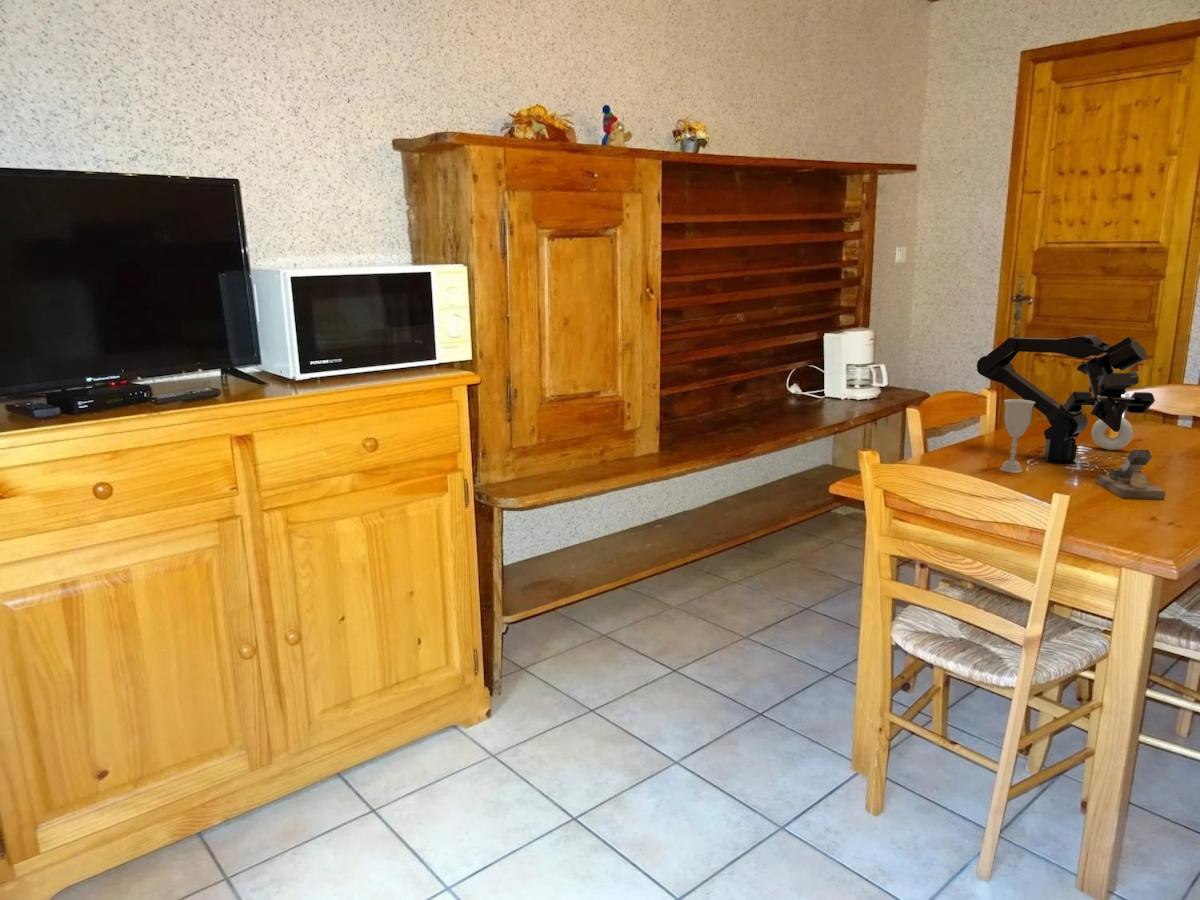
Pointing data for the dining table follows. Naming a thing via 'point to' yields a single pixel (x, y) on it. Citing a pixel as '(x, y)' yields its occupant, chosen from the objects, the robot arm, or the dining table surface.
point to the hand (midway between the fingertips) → (1117, 431)
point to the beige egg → (1138, 480)
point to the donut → (1112, 443)
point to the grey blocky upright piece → (1134, 463)
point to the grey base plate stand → (1128, 487)
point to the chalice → (1016, 427)
